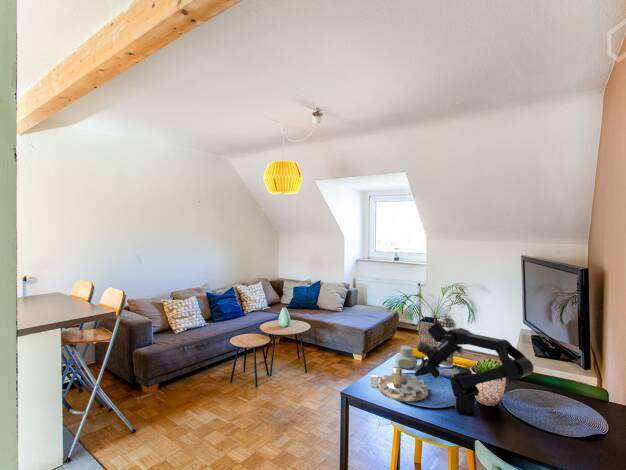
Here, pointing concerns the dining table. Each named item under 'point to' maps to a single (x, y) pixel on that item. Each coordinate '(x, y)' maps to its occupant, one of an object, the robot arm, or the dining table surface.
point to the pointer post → (374, 380)
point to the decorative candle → (447, 325)
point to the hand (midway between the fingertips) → (415, 374)
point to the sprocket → (402, 383)
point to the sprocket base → (402, 398)
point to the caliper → (449, 371)
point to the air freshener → (406, 358)
